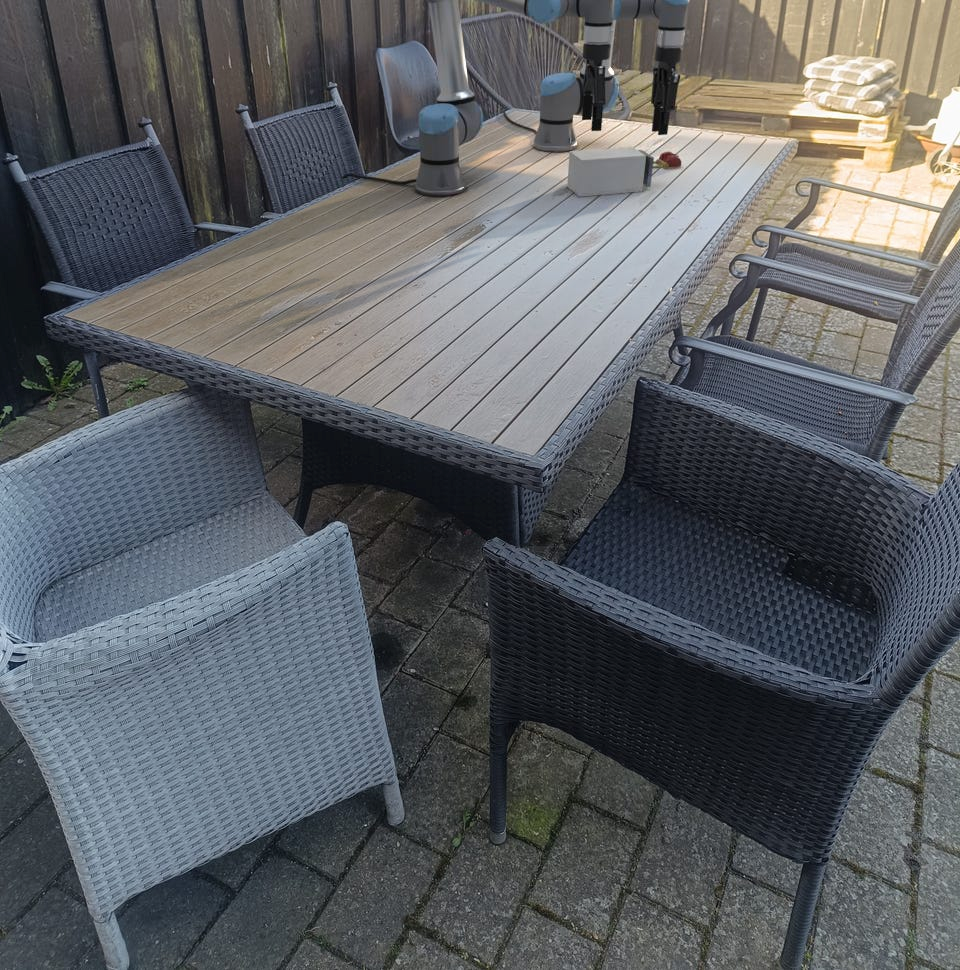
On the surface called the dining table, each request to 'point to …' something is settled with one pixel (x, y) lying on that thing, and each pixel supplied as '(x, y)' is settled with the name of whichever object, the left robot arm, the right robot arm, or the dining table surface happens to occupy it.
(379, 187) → the dining table surface
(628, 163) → the grey rectangular block
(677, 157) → the dental model
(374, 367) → the dining table surface
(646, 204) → the dining table surface
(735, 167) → the dining table surface
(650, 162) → the drawer
